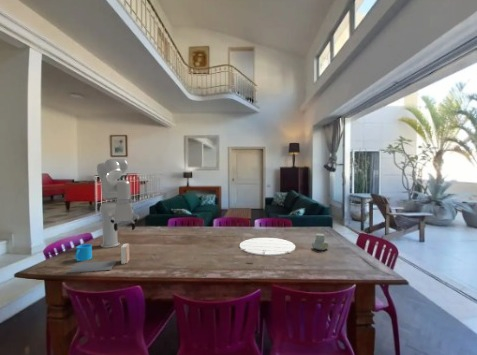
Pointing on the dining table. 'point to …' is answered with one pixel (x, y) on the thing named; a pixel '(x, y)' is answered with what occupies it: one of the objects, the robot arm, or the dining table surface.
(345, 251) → the dining table surface
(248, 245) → the lazy susan
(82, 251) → the mug
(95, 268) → the mat
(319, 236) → the air freshener
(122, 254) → the white rectangular block
